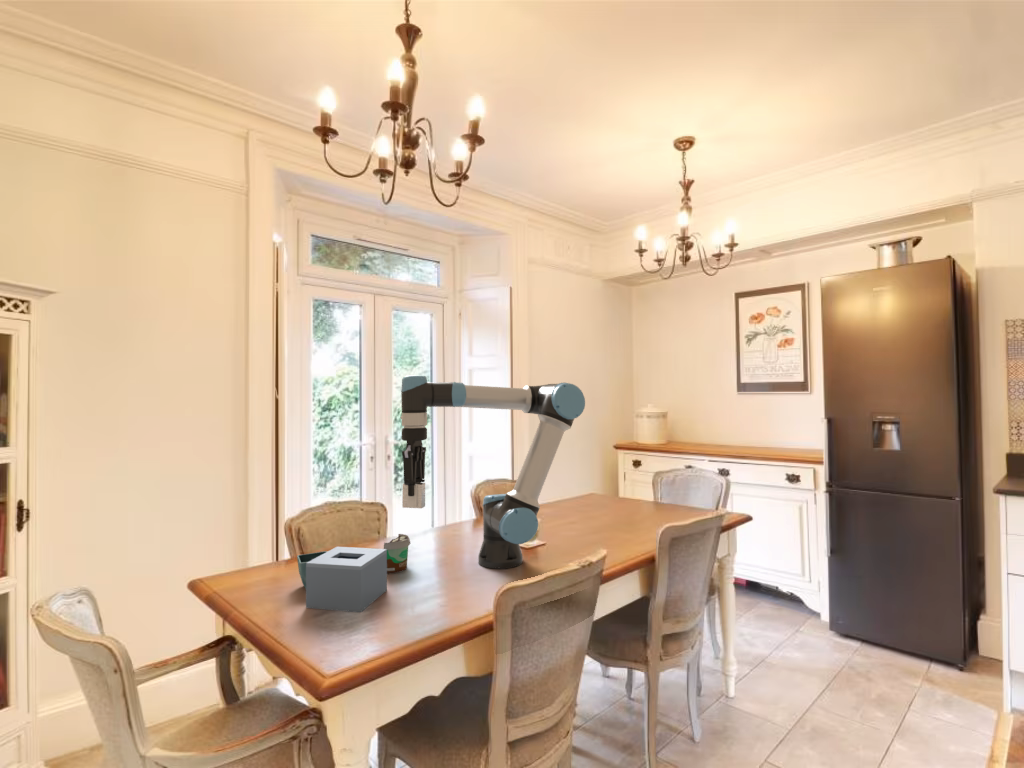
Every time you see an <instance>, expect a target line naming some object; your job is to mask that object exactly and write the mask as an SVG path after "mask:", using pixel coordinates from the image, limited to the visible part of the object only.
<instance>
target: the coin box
mask: <svg viewBox="0 0 1024 768" xmlns="http://www.w3.org/2000/svg"><path fill="white" fill-rule="evenodd" d="M387 591H388V573H387V549H384V548H371V547H369V548H368V547H351V546H335V547H334V548H332V549H330V550H328V551H327V552H326V553H324V554H322V555H320V556H318V557H316V558H315V559H313V560H311V561H309V562H307V563H306V589H305V608H306V609H317V610H327V611H328V610H329V611H342V612H343V611H344V612H354V613H362V612H363V611H364V610H365V609H367V607H369V606H370V605H371V604H372V603H374V602H375V601H376V600H377V599H379V597H381V596H382V595H383V594H384V593H386V592H387Z"/></svg>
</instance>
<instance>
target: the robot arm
mask: <svg viewBox="0 0 1024 768" xmlns="http://www.w3.org/2000/svg"><path fill="white" fill-rule="evenodd" d="M427 379H428V378H427V376H425V375H405V376H403V377H402V379H401V389H400V393H401V394H400V396H401V399H400V400H401V416H400V419H401V426H402V428H401V440H402V441H406V445H405V450H402V452H401V454H402V461H403V463H402V465H403V484H404V485H408V507H417V485H415V484H416V483H426V482H425V481H426V479H425V473H426V470H425V469H426V451H427V447H426V446H423V441H426V440H427V439H428V428H427V427H426V426H427V425H428V413H427V412H428V410H427V409H428V408H429V407H430V408H432V407H433V408H436V407H437V408H441V407H443V408H447V407H448V408H449V407H450V408H451V407H452V408H473V409H474V408H475V409H490V410H495V409H496V410H513V411H514V410H516V411H521V412H523V413H524V414H534V415H537V417H538V419H539V424H538V426H537V429H536V431H535V434H534V437H533V438H532V441H531V444H530V446H529V449H528V451H527V454H526V456H525V459H524V461H523V463H522V464H523V465H522V466H521V469H520V471H519V475H518V476H517V478H516V482H515V484H514V487H513V489H512V490H510V491H507V492H506V493H500V494H499V493H498V494H488V495H485V496H484V497H483V502H482V507H483V509H482V511H483V512H482V514H483V515H482V516H483V521H482V522H483V523H482V524H483V533H482V534H483V540H482V542H481V543H482V544H481V546H480V550H479V553H478V559H477V560H478V564H479V565H480V566H481V567H485V568H487V569H488V568H489V569H499V570H500V569H510V568H515V567H518V566H520V565H522V564H523V560H524V558H523V553H522V549H521V546H520V545H523V544H526V543H527V542H529V541H531V540H532V539H534V537H535V535H536V534H537V532H538V529H539V520H538V517H537V515H538V512H539V510H540V504H539V497H540V495H541V492H542V489H543V486H544V485H545V482H546V479H547V477H548V474H549V472H550V469H551V467H552V464H553V461H554V460H555V459H554V458H555V456H556V453H557V451H558V449H559V446H560V444H561V441H562V439H563V436H564V433H565V432H566V431H568V430H570V429H571V428H572V425H573V423H574V420H575V419H577V418H579V417H580V416H581V415H582V414H583V412H584V410H585V407H586V397H585V396H584V393H583V391H582V389H580V388H579V386H577V385H576V384H573V383H570V382H559V383H548V384H543V385H525V386H524V387H522V388H520V387H506V386H505V387H503V386H487V385H485V386H484V385H467V384H464V383H463V382H456V381H450V382H449V381H447V382H444V381H443V382H438V381H437V382H431V381H428V380H427Z"/></svg>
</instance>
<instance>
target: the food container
mask: <svg viewBox="0 0 1024 768" xmlns="http://www.w3.org/2000/svg"><path fill="white" fill-rule="evenodd" d="M410 545H411V539H410V537H409V535H407V534H403V533H398V537H397V536H396V538H393V539H391V540H389V542H384V543H383V549H387V574H396V573H400V572H403V571H405V570H407V569H408V557H409V546H410Z"/></svg>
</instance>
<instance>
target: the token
mask: <svg viewBox="0 0 1024 768" xmlns="http://www.w3.org/2000/svg"><path fill="white" fill-rule="evenodd" d="M415 485H417V507H408V485H404V483H402V504H401V505H402V508H403V509H404V508H407V509H408V508H409V509H424V508H425V507H426V482H421V483H416V484H415Z"/></svg>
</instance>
